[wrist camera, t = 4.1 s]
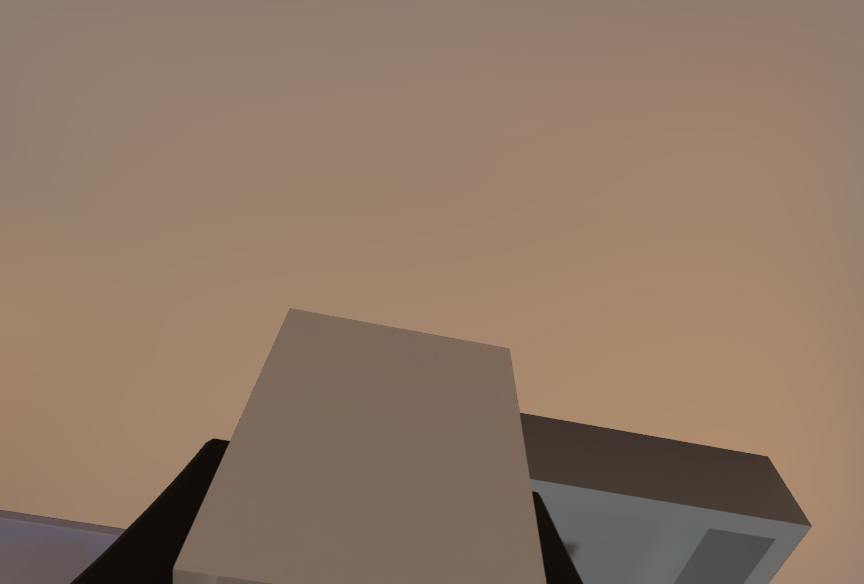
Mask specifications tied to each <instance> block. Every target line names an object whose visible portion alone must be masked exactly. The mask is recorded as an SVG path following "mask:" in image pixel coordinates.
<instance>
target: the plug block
mask: <svg viewBox="0 0 864 584" xmlns="http://www.w3.org/2000/svg"><path fill="white" fill-rule="evenodd" d="M173 584H546V577H545V571H544V565H543V558H542V552H541V546H540V539H539V533H538V527H537V520H536V514H535V508H534V501H533V495H532V489H531V482H530V476H529V470H528V463H527V457H526V451H525V445H524V438H523V432H522V426H521V419H520V413H519V407H518V400H517V394H516V388H515V382H514V375H513V369H512V363H511V357H510V350H509V349H507V348H502V347H497V346H492V345H486V344H480V343H475V342H469V341H464V340H459V339H454V338H448V337H442V336H437V335H432V334H426V333H421V332H415V331H410V330H405V329H399V328H394V327H388V326H383V325H377V324H372V323H366V322H361V321H356V320H349V319H345V318H339V317H334V316H328V315H323V314H317V313H312V312H306V311H301V310H295V309H289V311H288V314H287V316H286V318H285V321H284V323H283V325H282V327H281V329H280V331H279V334H278V336H277V338H276V341H275V343H274V345H273V347H272V349H271V352H270V354H269V356H268V358H267V360H266V363H265V365H264V367H263V369H262V372H261V374H260V376H259V378H258V380H257V383H256V385H255V387H254V389H253V392H252V394H251V396H250V398H249V401H248V403H247V405H246V407H245V410H244V412H243V414H242V416H241V418H240V420H239V423H238V425H237V427H236V429H235V432H234V434H233V436H232V438H231V440H230V443H229V445H228V447H227V449H226V452H225V454H224V456H223V458H222V461H221V463H220V465H219V467H218V469H217V472H216V474H215V476H214V478H213V481H212V483H211V485H210V487H209V489H208V492H207V494H206V496H205V498H204V501H203V503H202V505H201V507H200V509H199V512H198V514H197V516H196V518H195V521H194V523H193V525H192V527H191V529H190V532H189V534H188V536H187V538H186V541H185V543H184V545H183V547H182V549H181V552H180V554H179V556H178V558H177V561H176V563H175V565H174V567H173Z"/></svg>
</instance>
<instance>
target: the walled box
mask: <svg viewBox="0 0 864 584" xmlns="http://www.w3.org/2000/svg"><path fill="white" fill-rule="evenodd" d="M520 419H521V426H522V432H523V438H524V445H525V451H526V457H527V463H528V470H529V476H530V482H531V489H532V491H534V492H538V493H539V495H540V496H541V498H542V499H543V502H544V504H545V506H546V508H547V510H548V512H549V514H550V517H551V519H552V521H553V523H554V525H555V527H556V529H557V531H558V533H559V535H560V538H561V540H562V542H563V544H564V546H565V548H566V550H567V552H568V554H569V556H570V558H571V560H572V562H573V564H574V566H575V568H576V570H577V572H578V574H579V576H580V578H581V579H582V581H583V583H584V584H769V582H770V581H771V580H772V578H773V577H774V576H775V575H776V573H777V572H778V571H779V569H780V568H781V567H782V565H783V564H784V563H785V561H786V560H787V559H788V557H789V556H790V555H791V553H792V552H793V551H794V550H795V548H796V547H797V546H798V544H799V543H800V542H801V540H802V539H803V538H804V536H805V535H806V534H807V532H808V531H809V529H810V528H811V527H812V526H811V524H810V522H809V521H808V520H807V518H806V516H805V515H804V513H803V512H802V510H801V508H800V507H799V505H798V503H797V502H796V500H795V499H794V497H793V496H792V494H791V492H790V491H789V489H788V488H787V487H786V484H785V483H784V481H783V480H782V478H781V477H780V475H779V473H778V472H777V470H776V469H775V467H774V466H773V464H772V463H771V461H770V459H769V458H768V457H767V456H761V455H755V454H750V453H744V452H739V451H733V450H727V449H722V448H716V447H710V446H705V445H699V444H693V443H688V442H682V441H676V440H671V439H665V438H659V437H654V436H648V435H643V434H637V433H631V432H625V431H620V430H614V429H609V428H603V427H597V426H592V425H586V424H579V423H575V422H569V421H563V420H557V419H552V418H547V417H541V416H535V415H530V414H524V413H520Z"/></svg>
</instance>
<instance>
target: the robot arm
mask: <svg viewBox="0 0 864 584" xmlns="http://www.w3.org/2000/svg"><path fill="white" fill-rule="evenodd" d="M229 443H230V441H226V440H220V439H212V440H210V441H208V442H206V443H205V445H204V446H203V447H202V448H201V449H200V451H199V452H198V453H197V454H196V456H195V457H194V458H193V459H192V460H191V462H190V463H189V464H188V465H187V466H186V467H185V468H184V469H183V471H182V472H181V473H180V474H179V475H178V476H177V477H176V478H175V480H174V481H173V482H172V483H171V484H170V485H169V486H168V487H167V488H166V489H165V490H164V491H163V492H162V494H161V495H160V496H159V497H158V498H157V499H156V500H155V501H154V502H153V503H152V504H151V505H150V506H149V507H148V509H147V510H146V511H144V512H143V513H142V515H141V516H140V517H139V518H138V519H137V520H136V521H135V522H134V523H133V524H132V525H131V526H130V527H129V528H128V529H121V528H114V527H107V526H101V525H95V524H88V523H81V522H75V521H68V520H62V519H55V518H49V517H43V516H36V515H30V514H23V513H16V512H10V511H4V510H0V584H173V567H174V565H175V563H176V561H177V558H178V556H179V554H180V552H181V549H182V547H183V545H184V543H185V541H186V538H187V536H188V534H189V532H190V529H191V527H192V525H193V523H194V521H195V518H196V516H197V514H198V512H199V509H200V507H201V505H202V503H203V501H204V498H205V496H206V494H207V492H208V489H209V487H210V485H211V483H212V481H213V478H214V476H215V474H216V472H217V469H218V467H219V465H220V463H221V461H222V458H223V456H224V454H225V452H226V449H227V447H228V445H229ZM532 495H533V501H534V508H535V514H536V520H537V527H538V533H539V539H540V546H541V552H542V558H543V565H544V571H545V577H546V584H584V583H583V581H582V579H581V578H580V576H579V574H578V572H577V570H576V568H575V566H574V564H573V562H572V560H571V558H570V556H569V554H568V552H567V550H566V548H565V546H564V544H563V542H562V540H561V538H560V535H559V533H558V531H557V529H556V527H555V525H554V523H553V521H552V519H551V517H550V514H549V512H548V510H547V508H546V506H545V504H544V502H543V499H542V498H541V496H540V495H539V493H538V492H534V491H532Z"/></svg>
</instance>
